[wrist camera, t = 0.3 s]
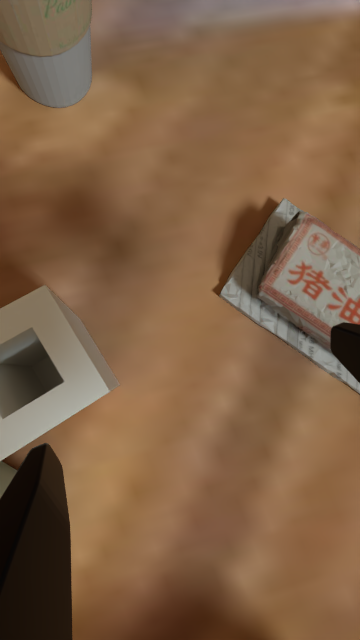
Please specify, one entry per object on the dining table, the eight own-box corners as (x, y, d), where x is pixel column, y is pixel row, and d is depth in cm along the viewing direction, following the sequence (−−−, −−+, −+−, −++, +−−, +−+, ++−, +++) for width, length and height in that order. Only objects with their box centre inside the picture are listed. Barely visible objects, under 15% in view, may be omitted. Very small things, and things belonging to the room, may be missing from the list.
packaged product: (506, 314, 23) (456, 435, 21) (443, 324, 28) (397, 424, 26) (303, 171, 23) (231, 280, 20) (274, 206, 27) (214, 297, 25)
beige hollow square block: (120, 384, 23) (110, 391, 14) (48, 430, 21) (-13, 469, 13) (80, 319, 23) (45, 284, 14) (7, 360, 22) (-80, 350, 13)
